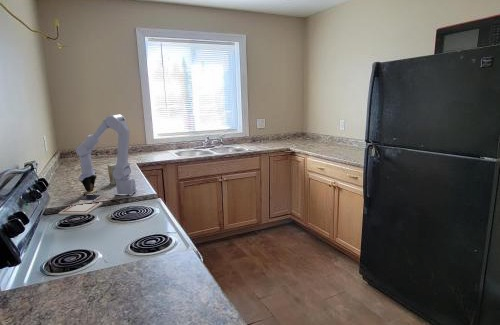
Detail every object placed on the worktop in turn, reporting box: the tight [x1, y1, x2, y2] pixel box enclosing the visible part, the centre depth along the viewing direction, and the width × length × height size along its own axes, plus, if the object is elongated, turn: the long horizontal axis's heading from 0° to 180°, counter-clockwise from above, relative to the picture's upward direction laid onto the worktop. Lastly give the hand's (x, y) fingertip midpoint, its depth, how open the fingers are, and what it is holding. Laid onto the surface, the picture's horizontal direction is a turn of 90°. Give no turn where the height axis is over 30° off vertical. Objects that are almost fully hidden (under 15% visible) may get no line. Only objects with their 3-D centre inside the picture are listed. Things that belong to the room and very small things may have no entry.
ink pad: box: [79, 194, 103, 200], centre depth 165 cm, size 8×8×2 cm
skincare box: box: [107, 162, 117, 185], centre depth 193 cm, size 6×4×12 cm
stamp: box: [83, 183, 98, 195], centre depth 174 cm, size 5×5×6 cm
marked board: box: [57, 201, 103, 216], centre depth 152 cm, size 14×14×1 cm
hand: (89, 189), depth 175 cm, fingers closed on stamp, 3 cm apart
